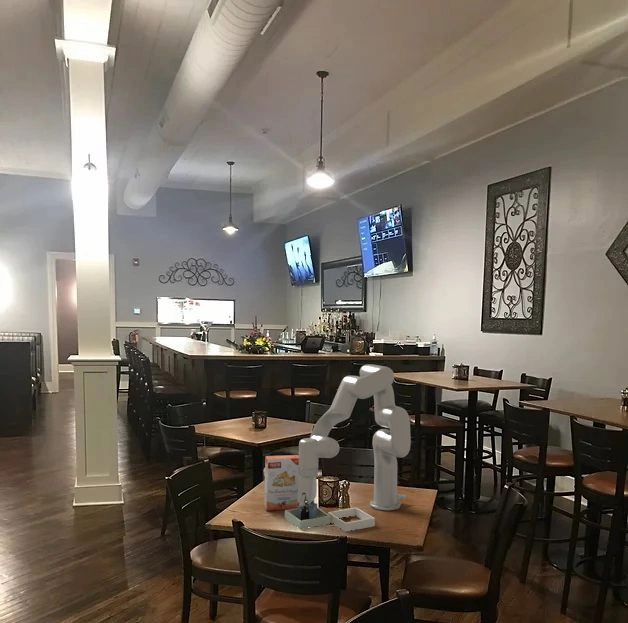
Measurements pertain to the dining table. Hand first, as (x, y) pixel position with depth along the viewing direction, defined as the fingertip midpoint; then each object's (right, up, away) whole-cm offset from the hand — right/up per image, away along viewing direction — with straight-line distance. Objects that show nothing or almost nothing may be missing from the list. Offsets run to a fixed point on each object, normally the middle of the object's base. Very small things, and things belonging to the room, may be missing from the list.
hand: (307, 518), depth 211 cm
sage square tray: (0, -1, 0) cm, 1 cm away
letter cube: (0, -1, 0) cm, 1 cm away
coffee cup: (-15, -1, +29) cm, 33 cm away
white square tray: (+17, -1, -1) cm, 17 cm away
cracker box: (-11, -1, +14) cm, 18 cm away
